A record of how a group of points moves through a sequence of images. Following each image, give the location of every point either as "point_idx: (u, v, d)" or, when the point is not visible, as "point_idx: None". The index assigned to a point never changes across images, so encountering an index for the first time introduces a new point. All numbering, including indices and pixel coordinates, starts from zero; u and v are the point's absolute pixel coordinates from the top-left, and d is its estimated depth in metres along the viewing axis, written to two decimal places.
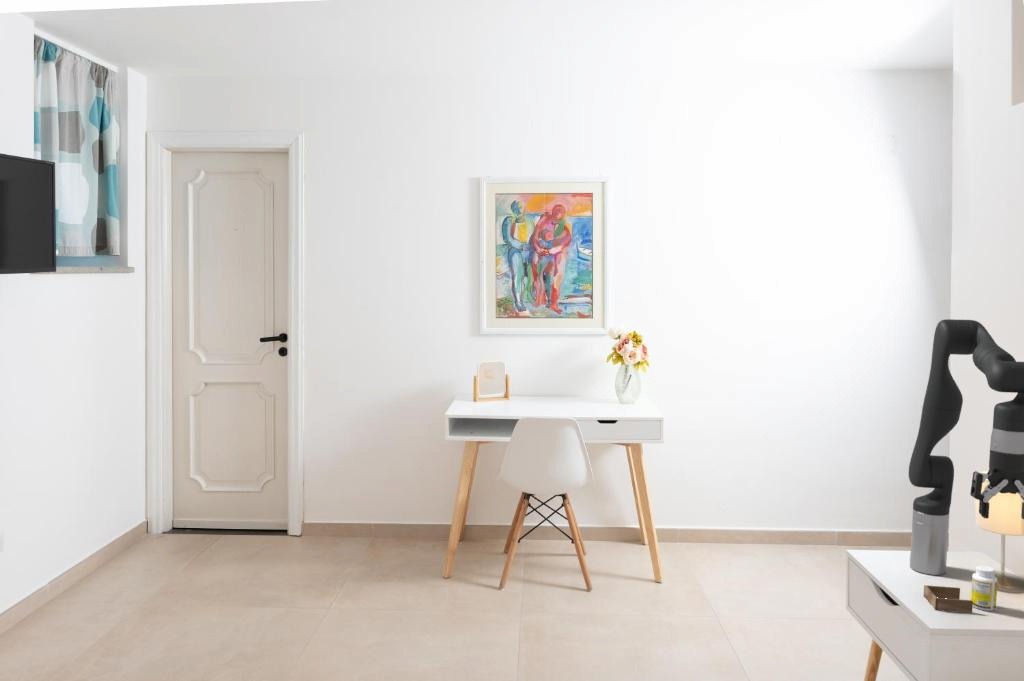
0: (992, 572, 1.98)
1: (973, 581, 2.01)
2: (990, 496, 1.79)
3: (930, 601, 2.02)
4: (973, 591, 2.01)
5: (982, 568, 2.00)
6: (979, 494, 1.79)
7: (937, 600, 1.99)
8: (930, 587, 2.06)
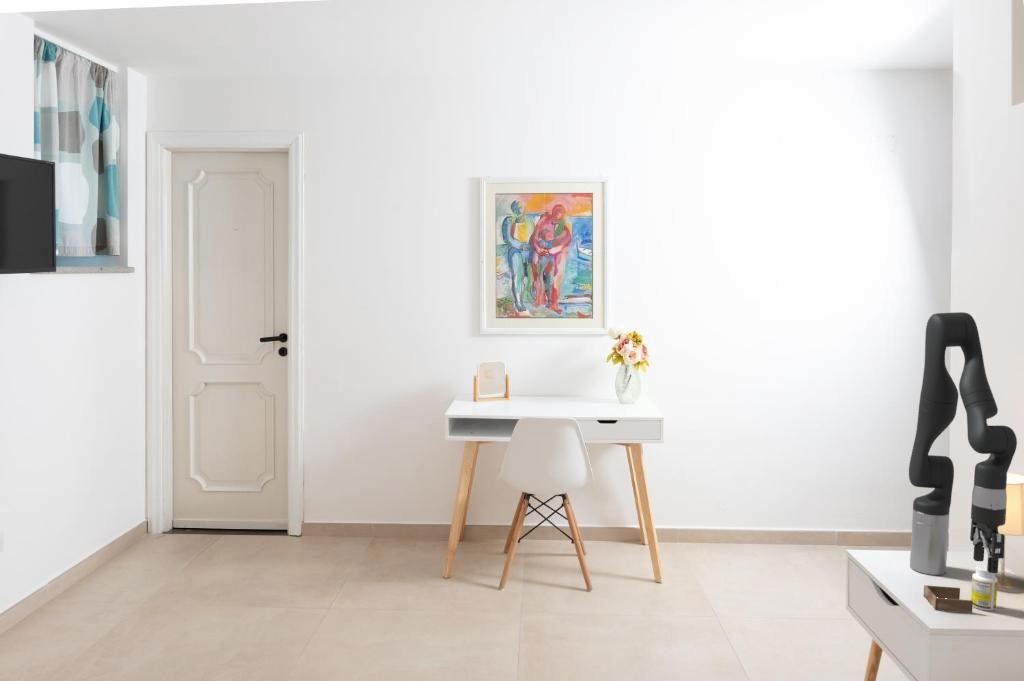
0: None
1: (973, 581, 2.01)
2: None
3: (930, 601, 2.02)
4: (973, 591, 2.01)
5: (982, 568, 2.00)
6: None
7: (937, 600, 1.99)
8: (930, 587, 2.06)
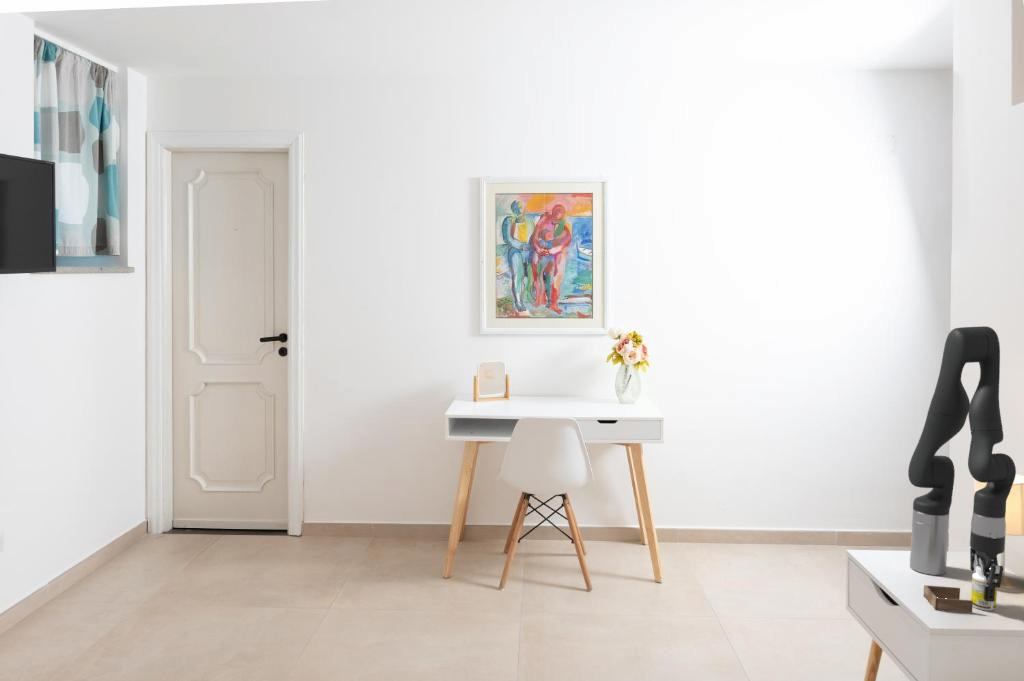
0: None
1: (973, 581, 2.01)
2: None
3: (930, 601, 2.02)
4: (973, 591, 2.01)
5: None
6: None
7: (937, 600, 1.99)
8: (930, 587, 2.06)
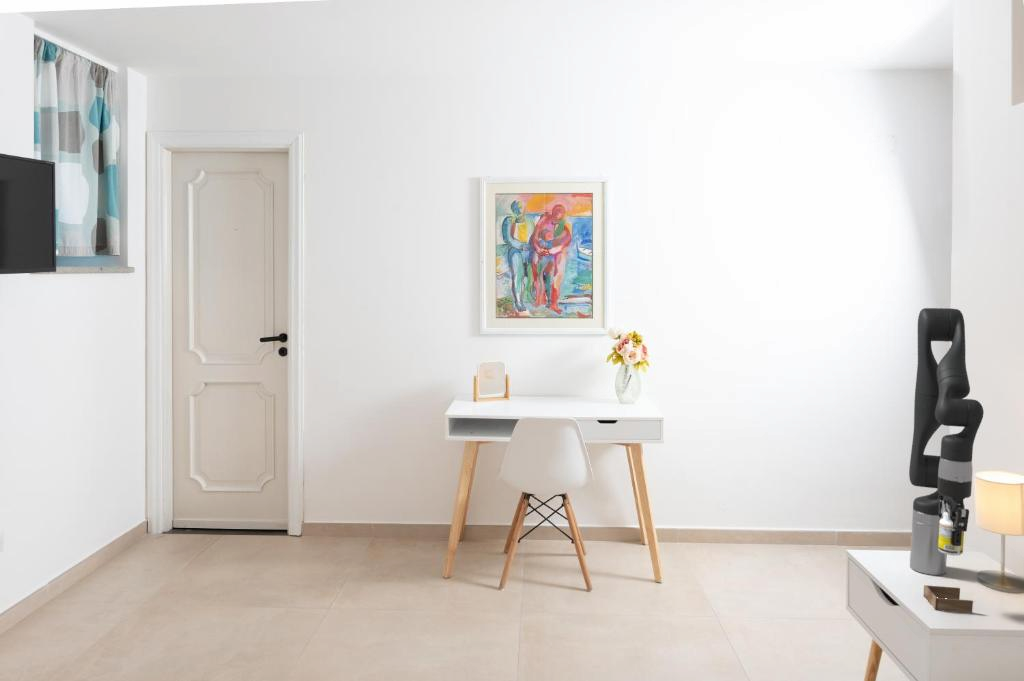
0: None
1: (940, 526, 2.01)
2: None
3: (930, 601, 2.02)
4: (940, 536, 2.01)
5: None
6: None
7: (937, 600, 1.99)
8: (930, 587, 2.06)
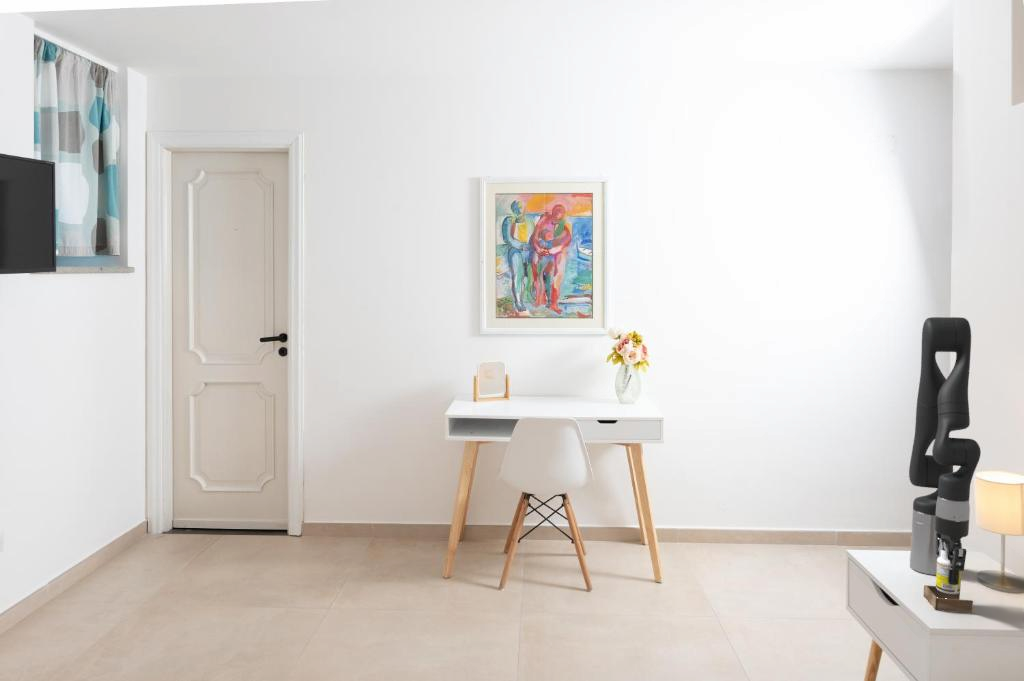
0: None
1: (938, 565, 2.02)
2: None
3: (930, 601, 2.02)
4: (938, 575, 2.02)
5: None
6: None
7: (937, 600, 1.99)
8: (930, 587, 2.06)
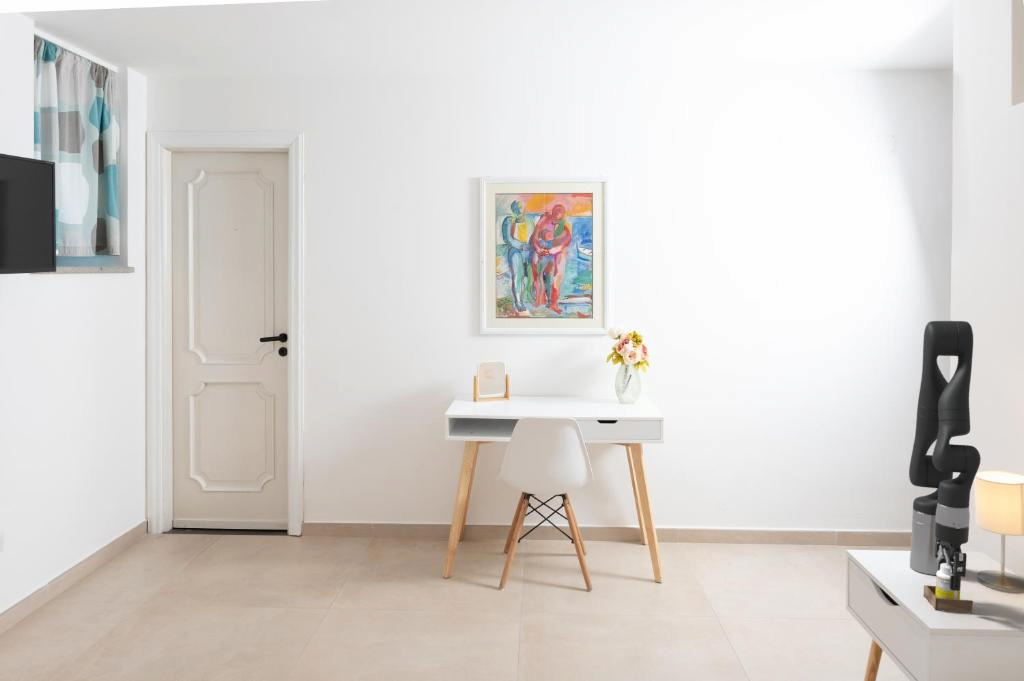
0: None
1: (937, 578, 2.02)
2: None
3: (930, 601, 2.02)
4: (937, 588, 2.02)
5: (946, 565, 2.02)
6: None
7: (937, 600, 1.99)
8: (930, 587, 2.06)
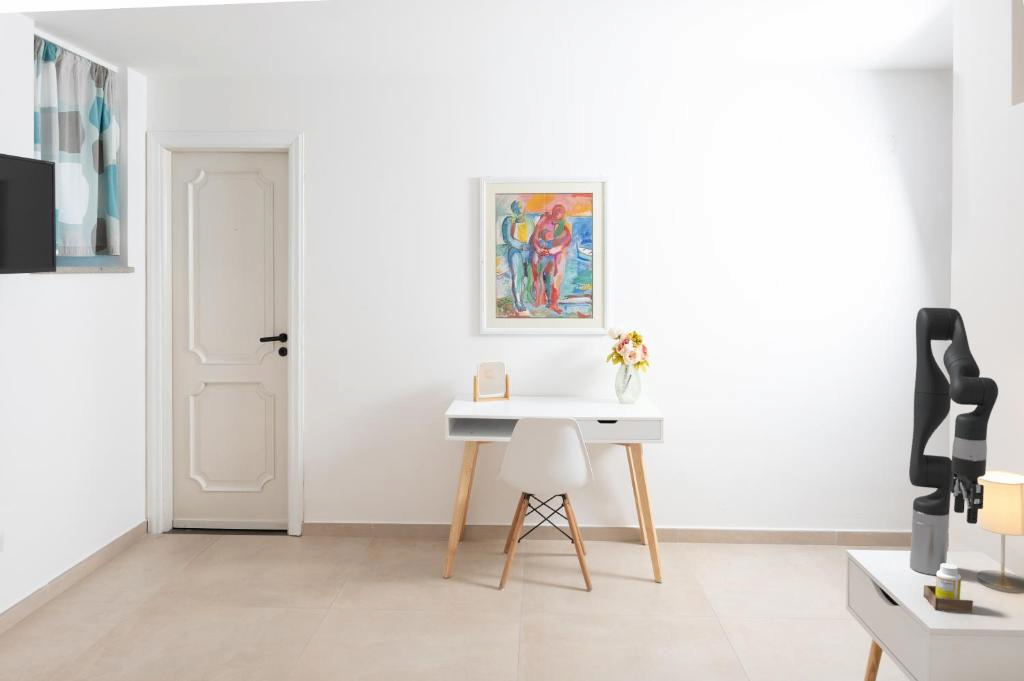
0: (955, 569, 2.00)
1: (937, 578, 2.02)
2: None
3: (930, 601, 2.02)
4: (937, 588, 2.02)
5: (946, 565, 2.02)
6: None
7: (937, 600, 1.99)
8: (930, 587, 2.06)
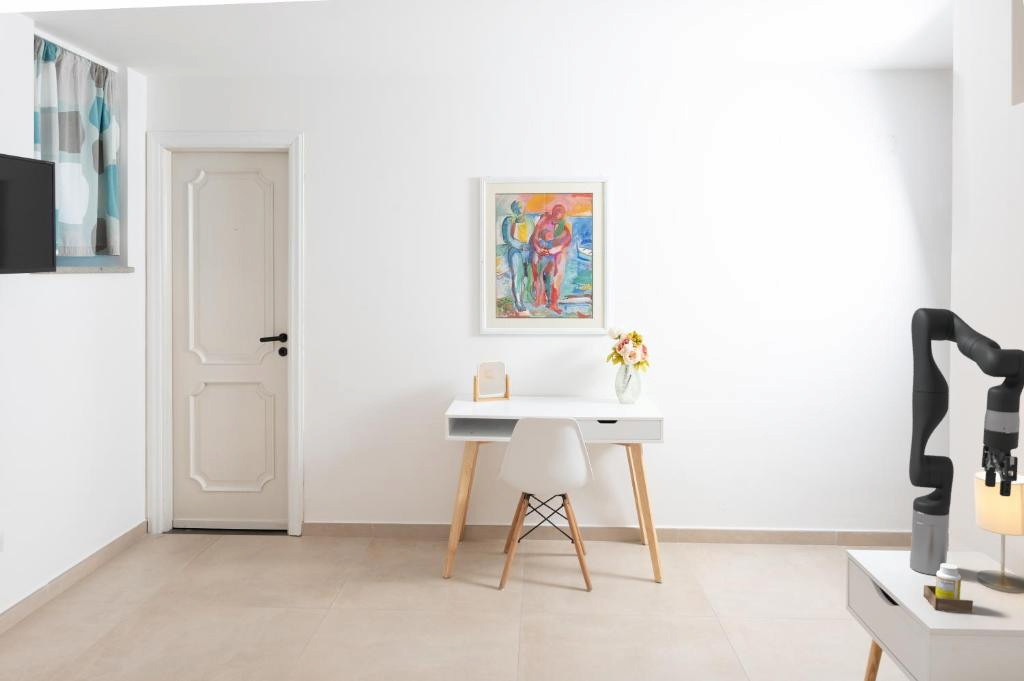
0: (955, 569, 2.00)
1: (937, 578, 2.02)
2: None
3: (930, 601, 2.02)
4: (937, 588, 2.02)
5: (946, 565, 2.02)
6: None
7: (937, 600, 1.99)
8: (930, 587, 2.06)
